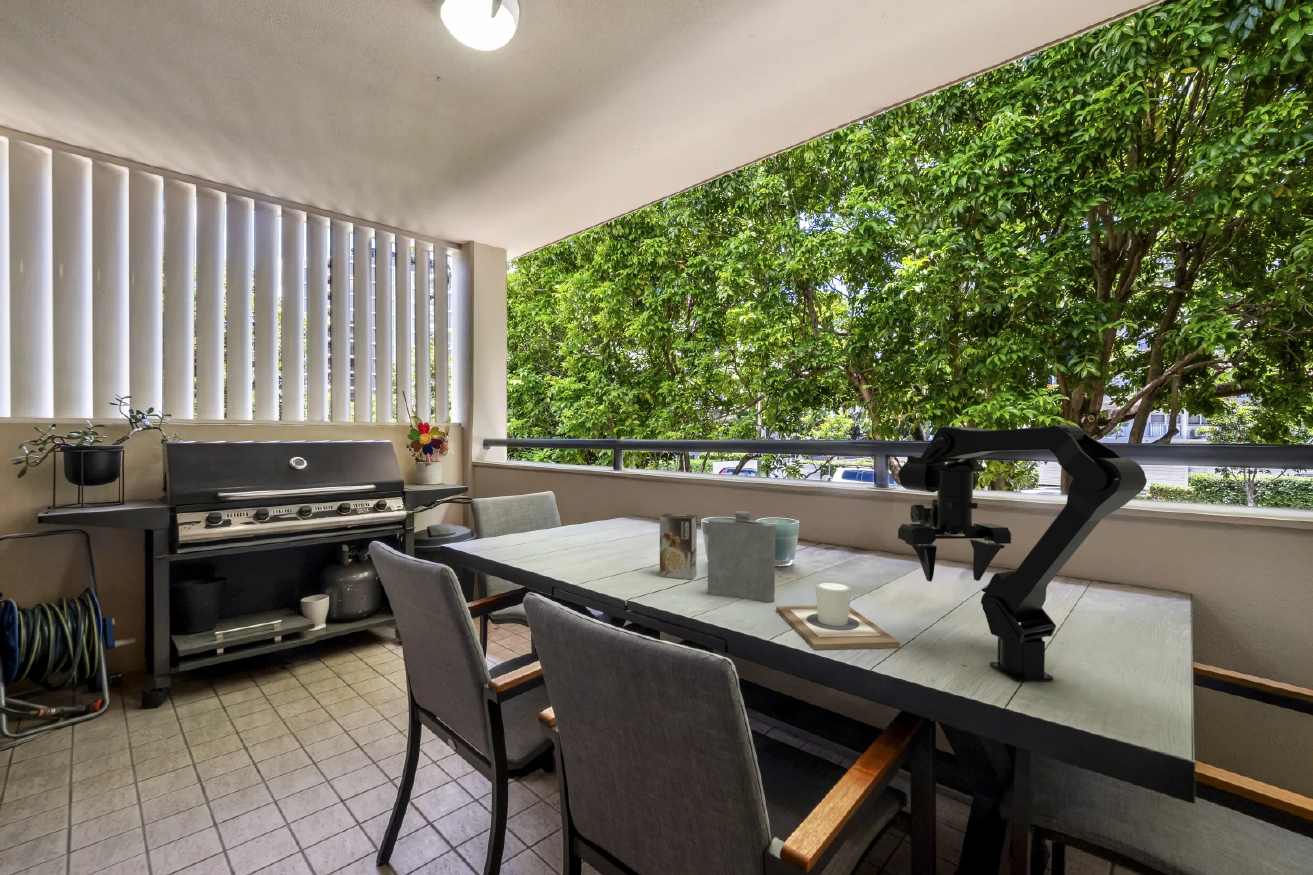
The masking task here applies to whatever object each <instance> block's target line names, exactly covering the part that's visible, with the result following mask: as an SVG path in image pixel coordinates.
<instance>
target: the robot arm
mask: <svg viewBox="0 0 1313 875" xmlns="http://www.w3.org/2000/svg"><path fill="white" fill-rule="evenodd" d="M1012 451H1013V452H1015V451H1017V452H1018V451H1020V452H1022V451H1024V452H1025V451H1050V452H1051V453H1052V454H1054V456H1055V458H1056V459H1057V461H1058V462H1059V463H1058V464H1060V466H1061V468H1062V469H1063V470H1064V471H1065V472H1066V473H1067V474H1068V475H1069V476H1070V477H1072V479H1071V481H1070V482H1069V485H1068V487H1067V497H1066V504H1065V505H1064V506H1063V508H1062V509H1061V511H1060V512H1059V513H1058V515H1057V516H1056V518H1054V520H1053V521H1052V522H1051V524H1050V525H1049V527H1048V528H1047V529H1046V530H1045V532H1044V533H1043V534H1042V535H1041V537H1040V538H1039V539H1038V541H1037V542H1036V544H1034V546H1033V547H1032V548H1031V550H1030V552H1029V553H1028V554H1027V555H1026V557H1025V558H1024V559H1023V561H1022V562H1021V563H1020V565H1019V566H1018V567H1017V568H1016V570H1010V571H1009V570H1008V571H1001V572H996V573H994V574H993V576H992V577H991V579H990V580H989V583H988V584H987V585H986V586H985V587H984V588H981V592H983V594H982V596H981V598H980V604H981V605H982V610H983V612H984V615H985V618H986V622H987V625H988V628H989V631H990V634H991V635H993V636H995V637H997V661H990V662H989V666H990V667H991V668H994V669H995V670H997V672H1000V673H1001V674H1004V676H1006V677H1008V678H1010V679H1011V680H1013V681H1014V682H1020V683H1021V682H1039V681H1041V682H1043V681H1044V682H1045V681H1046V682H1047V681H1054V676H1053V675H1050V673H1048V672H1046V671H1045V665H1046V664H1045V662H1046V660H1045V659H1046V658H1045V657H1046V641H1044V640H1043V638H1046V637H1052V636H1054V632H1055V630H1056V628H1057V625H1056V623H1055V622H1054V621H1053V619H1052V618H1051V617H1050V615H1048V613H1047V612H1046V611H1045V609H1044V608H1043V607H1044V604H1045V603H1046V600H1047V587H1048V586H1049V585H1050V583H1051V582H1052V580H1053V579H1054V578H1055V577H1056V575H1058V573H1059V572H1060V571H1061V570H1062V569H1063V567H1064V566H1065V565H1066V563H1067V562H1068V561H1069V560H1070V559H1071V557H1072V556H1073V555H1074V554H1075V552H1076V551H1077V550H1078V549H1079V547H1080V546H1081V545H1082V544H1083V543H1084V542H1085V540H1086V539H1087V537H1089V535H1090V534H1091V533H1092V531H1093V530H1094V529H1095V528H1096V527H1097V525H1098V524H1099V523H1100V522H1101V521H1102V520H1103V519H1104V518H1106V517H1108V516H1109V515H1111V514H1113V513H1114V512H1115V511H1117V510H1119V509H1121V508H1123V507H1124V506H1126V505H1127V504H1128V503H1129V502H1130V501H1132V500H1133V499H1134V498H1136V496H1138V495H1139V494H1140V493H1141V492H1142V491H1144V489H1145V487H1146V484H1147V480H1148V479H1147V478H1146V475H1145V471H1144V470H1143V468H1142V466H1141V465H1140V464H1138V463H1137V462H1136V461H1135V460H1132V459H1130V458H1124V457H1122V456H1121V455H1120V454H1119V453H1118V452H1117V451H1115V450H1113V449H1112V448H1110V447H1108V445H1105V444H1103V443H1102V442H1100V441H1098V440H1097V439H1095V438H1093V437H1091V436H1090V435H1089V434H1088V433H1087V432H1086V431H1085V430H1083V429H1081V427H1079V426H1077V425H1073V424H1053V425H1049V426H1042V427H1041V426H1039V427H1023V428H1022V427H1021V428H1008V429H1007V428H1005V429H991V430H990V429H986V428H978V427H971V426H941V427H939V428H937V429H936V431H935V433H934V434H933V438H932V440H931V441H930V442H929V444H928V446H927V448H926V449H925V450H924V452H923V453H922V455H908V456H907V458H906V459H907V461H906V462H905V463H904V464H903V465H902V467H901V469H900V471H899V472H898V473H899V474H898V478H899V479H898V480H899V483H900V484H901V487H903V489H905V490H908V491H909V490H910V491H917V492H924V493H936V492H937V495H936V496H937V497H936V498H933V499H932V501H931V507H925V505H924V504H913V505H910V512H909V514H910V521H911V522H912V523H902V524H901V525H900V526H899V528H898V529H897V538H898V539H899V540H901V541H904V542H905V544H907V545H909V546H911V547H912V549H913V550H914V551H915V553H916V556H917V557H918V559H919V562H920V566H921V568H922V571H923V573H924V576H925V580H926V581H927V582H930V583H931V582H932V581H933V579H934V573H935V564H936V558H937V549H938V546H936V545H933V543H934V542H935V541H936V540H940V539H941V540H945V539H947V540H948V539H949V540H950V539H951V540H954V539H963V540H964V539H965V540H968V539H969V542H970V544H971V546H972V549H973V555H972V556H973V558H972V559H973V561H972V562H973V563H972V564H973V565H972V573H973V575H972V576H973V580H974V581H977V582H980V580H981V579H982V577H983V576H984V574H985V572H986V570H987V569H988V567H990V566H989V565H990V564H991V562H992V561H993V559H994V558H995V557H996V555H997V554H998V553H999V551H1000V550H1001V549H1005V547H1006V546H1005V544H1006V545H1007V544H1009V545H1010V544H1012V536H1013V534H1012V532H1011V531H1010V529H1009V528H1008V526H1003V525H1000V524H999V525H998V524H994V523H973V510H974V509H978V502H974V501H973V495H974V492H973V491H974V473H982V472H985V471H986V468H985V467H984V466H983V465H982V464H980V463H979V461H978V460H977V459H976V458H974V457H980V456H984V455H987V454H990V453H994V452H1012ZM962 459H965V460H963V461H962ZM945 463H946V464H945Z"/></svg>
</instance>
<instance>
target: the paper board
mask: <svg viewBox="0 0 1313 875" xmlns="http://www.w3.org/2000/svg"><path fill="white" fill-rule="evenodd" d="M775 612H777V614H779V615H780V616H781V618H783V620H785V622H786V623H787V624H789V626H790V627H792V629H793V630H794V631H795V632H796V633H797V634H798V635H799V636H800V637H801V638H802V639H803V640H804V641H805V642H806V643H807V644H808V645H809V646H810V647H811V648H812V649H813V651H824V650H825V651H826V650H827V651H828V650H829V651H830V650H857V649H858V650H861V649H865V650H866V649H892V648H893V649H895V648H899V649H900V648H901V642H900V641H899V640H897V638H895V637H894V636H892V635H891V634H890V633H888V632H886V631H885V630H883V629H882V628H881V627H880V626H878V625H877V624H875V623H873V622H872V621H871V620H870V619H868V618H867V617H865V615H864V616H863V615H862V614H860V613H859V612H858V611H857V610H855V609H854V608H852V607H851V606H849V615H848V623H847V624H846V625H843V626H832V625H827V624H823V623H821V622H820V621H819V620H818V610H817V604H816V605H777V606H775Z"/></svg>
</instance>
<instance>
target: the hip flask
mask: <svg viewBox="0 0 1313 875" xmlns="http://www.w3.org/2000/svg"><path fill="white" fill-rule="evenodd" d="M734 516H735V520H730V519H715V518H714V519H708V537H707V538H708V543H707V550H708V552H707V560H708V561H707V595H709V596H715V597H726V598H728V597H729V598H733V599H734V598H736V599H742V600H749V601H756V602H761V603H767V604H770V603H774V602H775V585H776V584H775V580H776V576H775V575H776V528H777V527H776V526H777V525H776V524H775V523H767V522H764V521H758V520H752V519H750V516H751V512H750V511H746V510H745V511H744V510H737V511H734Z"/></svg>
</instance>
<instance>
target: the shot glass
mask: <svg viewBox="0 0 1313 875" xmlns="http://www.w3.org/2000/svg"><path fill="white" fill-rule="evenodd" d="M851 595H852V586H850V585H848V584H846V583H840V582H831V581H825V582H824V581H823V582H818V583H816V584H815V596H816V605H817V610H818V620H819V621H820V622H821V623H823V624H827V625H832V626H843V625H846V624H847V623H848V615H849V607H851V606H850V605H851Z"/></svg>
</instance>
